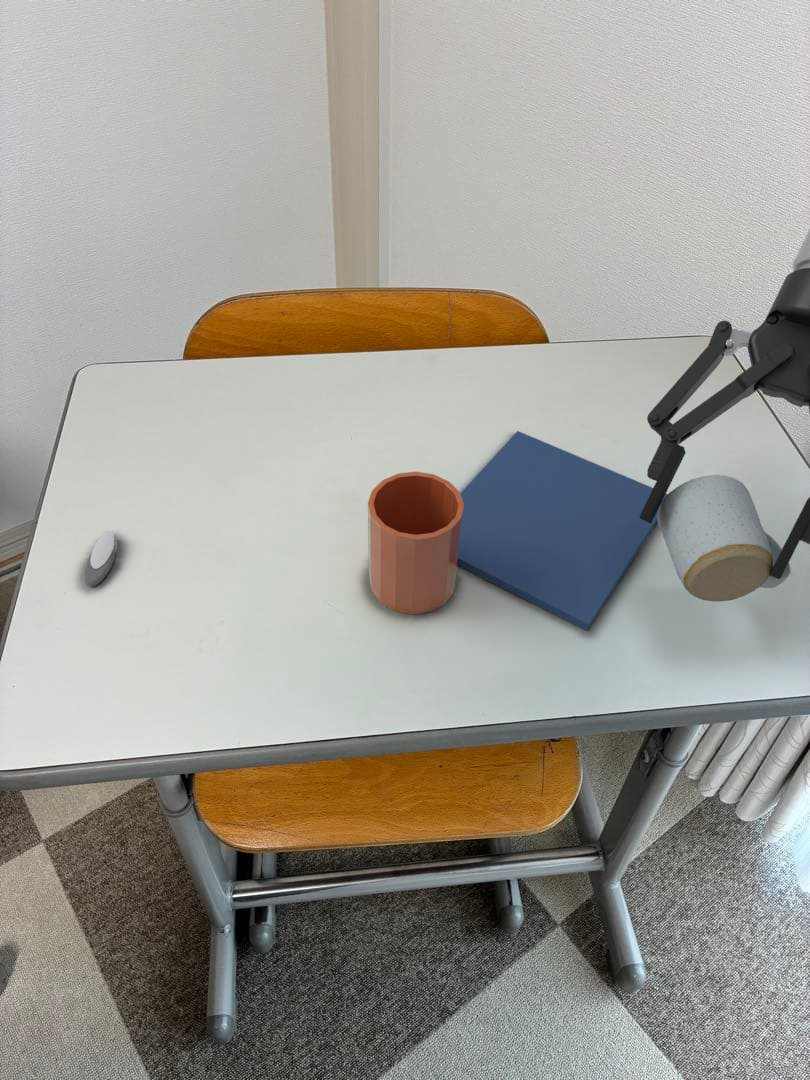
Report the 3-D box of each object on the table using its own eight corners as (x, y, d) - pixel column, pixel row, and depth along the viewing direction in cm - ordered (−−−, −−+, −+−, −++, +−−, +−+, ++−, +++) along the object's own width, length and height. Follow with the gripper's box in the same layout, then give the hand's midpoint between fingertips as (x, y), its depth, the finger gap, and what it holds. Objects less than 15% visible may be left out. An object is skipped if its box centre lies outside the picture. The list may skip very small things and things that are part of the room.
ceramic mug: (673, 610, 64) (702, 545, 59) (646, 537, 70) (670, 471, 65) (799, 606, 65) (839, 542, 60) (762, 535, 71) (796, 469, 65)
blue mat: (669, 502, 82) (672, 495, 82) (587, 631, 71) (589, 624, 70) (516, 437, 89) (517, 430, 88) (418, 545, 77) (418, 538, 77)
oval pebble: (104, 590, 73) (101, 583, 72) (78, 587, 73) (75, 580, 72) (126, 538, 77) (123, 531, 76) (101, 536, 77) (98, 528, 76)
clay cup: (471, 572, 75) (480, 495, 68) (425, 628, 71) (430, 552, 63) (401, 536, 78) (403, 459, 71) (352, 588, 74) (349, 511, 66)
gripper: (984, 348, 61) (847, 610, 63) (698, 262, 69) (586, 497, 71) (1016, 316, 54) (861, 612, 56) (694, 225, 62) (571, 486, 64)
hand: (707, 547), depth 64 cm, fingers closed on ceramic mug, 10 cm apart
